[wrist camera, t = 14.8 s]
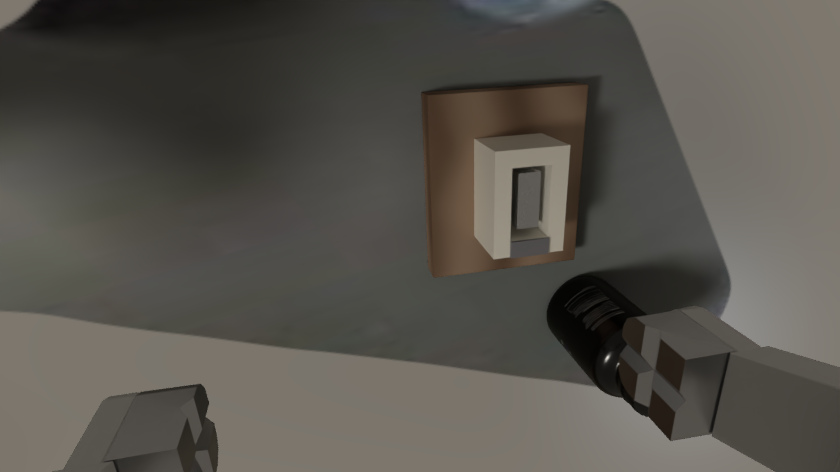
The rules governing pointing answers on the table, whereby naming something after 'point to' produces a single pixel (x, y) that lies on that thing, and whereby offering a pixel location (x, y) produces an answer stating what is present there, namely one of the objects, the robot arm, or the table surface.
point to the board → (454, 164)
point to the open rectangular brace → (496, 194)
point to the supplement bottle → (594, 330)
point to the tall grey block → (525, 197)
